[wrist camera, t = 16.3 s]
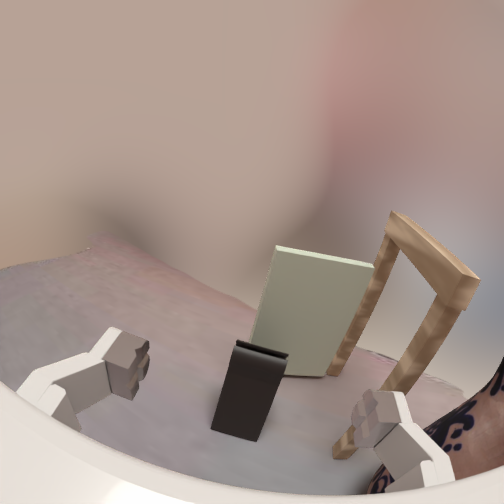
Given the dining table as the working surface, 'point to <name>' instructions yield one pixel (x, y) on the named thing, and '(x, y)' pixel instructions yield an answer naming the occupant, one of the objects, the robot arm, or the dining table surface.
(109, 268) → the dining table surface
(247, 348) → the phone stand
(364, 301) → the door frame
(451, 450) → the ceramic pitcher
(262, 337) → the door
